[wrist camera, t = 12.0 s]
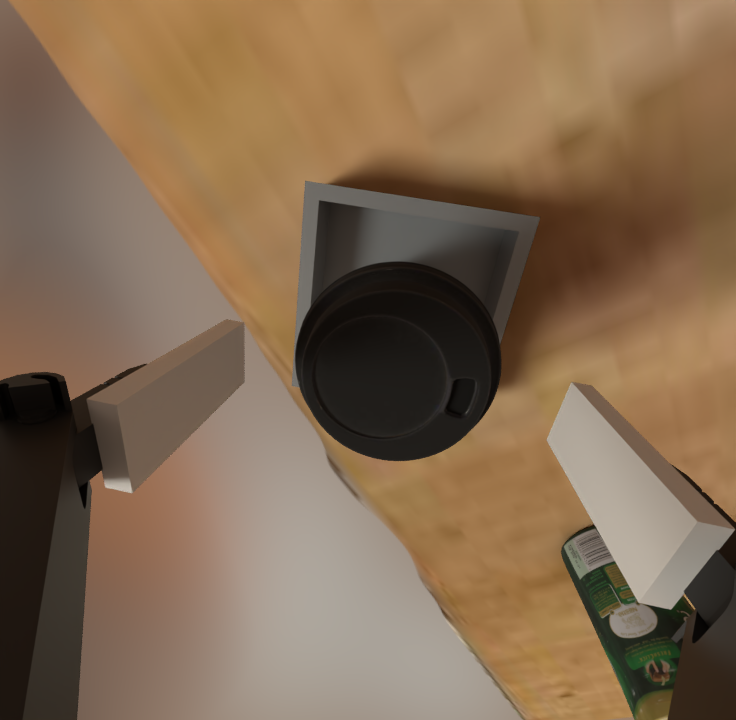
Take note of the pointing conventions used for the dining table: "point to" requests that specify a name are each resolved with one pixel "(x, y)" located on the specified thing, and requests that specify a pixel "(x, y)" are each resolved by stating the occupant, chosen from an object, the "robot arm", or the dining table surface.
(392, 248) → the tray
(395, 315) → the coffee cup
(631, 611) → the coffee jar
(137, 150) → the dining table surface
